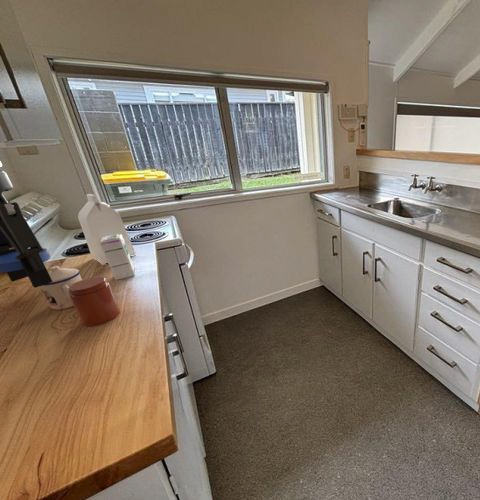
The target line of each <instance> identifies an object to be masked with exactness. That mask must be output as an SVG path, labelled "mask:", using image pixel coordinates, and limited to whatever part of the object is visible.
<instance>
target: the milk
mask: <svg viewBox="0 0 480 500" xmlns="http://www.w3.org/2000/svg"><path fill="white" fill-rule="evenodd" d="M85 196H86V199H87V202H86V203H85V204H84V206H83V207H82V208H81V209H80V211H78V214H77V219H78V222H79V224H80V227H81V230H82V233H83V236H84V239H85V241H86V244H87V247H88V250H89V253H90V256H91V259H92V258H94V259H95V260H97V261H98V262H100V263H101V264H105V263H108V262H107V259H106V257H105V255H104V252H103V250H102V247H101V245H100V243H99V242H100V240H101V238H102V237H106V236H110V235H116V234H122V237H123V239H124V242H125V244H126V247H127V249H128V252H129V254H130V256H131V255H135V254H136V251H135V248H134V246H133V244H132V241H131V239H130V236H129V234H128V231H127V228H126V226H125V224H124V222H123V219H122V217H121V215H120V212H118V211H117V210H116V209H114V208H112V207H110V206H111V205H110V204H108V203H107V202H104V201H101V202H100V201H99V199H98V197H97V195H96V194H92V193H87V194H85ZM136 255H137V254H136ZM136 255H135V256H136ZM95 260H94V261H95ZM97 261H96V262H97ZM98 262H97V263H98ZM100 263H99V264H100ZM101 264H100V265H101ZM105 265H106V264H105Z"/></svg>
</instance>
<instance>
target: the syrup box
mask: <svg viewBox="0 0 480 500" xmlns="http://www.w3.org/2000/svg"><path fill="white" fill-rule="evenodd" d="M99 243H100V245H101V247H102V250H103V252H104V255H105V257H106V259H107V262H108V264H107V265H108V266H109V269H110V271H111V273H112V275H113V278H114V280H116V281H117V280H123V279H127V278H130V277H134V276H135V275H136V267H135V265H134V262H133V260H132V257H130V254H129V252H128V249H127V247H126V244H125V242H124V239H123V237H122V234H116V235H110V236H106V237H102V238H101V240H100V242H99Z"/></svg>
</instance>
